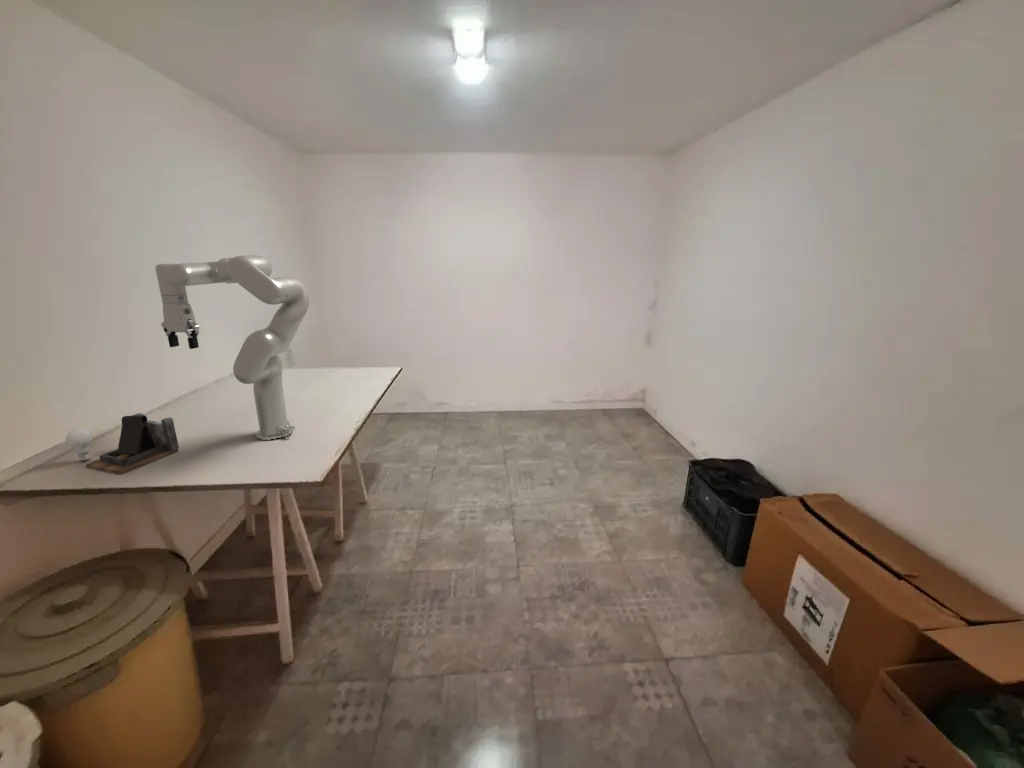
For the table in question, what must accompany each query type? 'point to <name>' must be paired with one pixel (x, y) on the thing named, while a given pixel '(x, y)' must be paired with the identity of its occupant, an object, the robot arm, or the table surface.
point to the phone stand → (134, 436)
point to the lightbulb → (80, 442)
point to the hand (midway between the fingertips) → (184, 347)
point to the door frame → (164, 447)
